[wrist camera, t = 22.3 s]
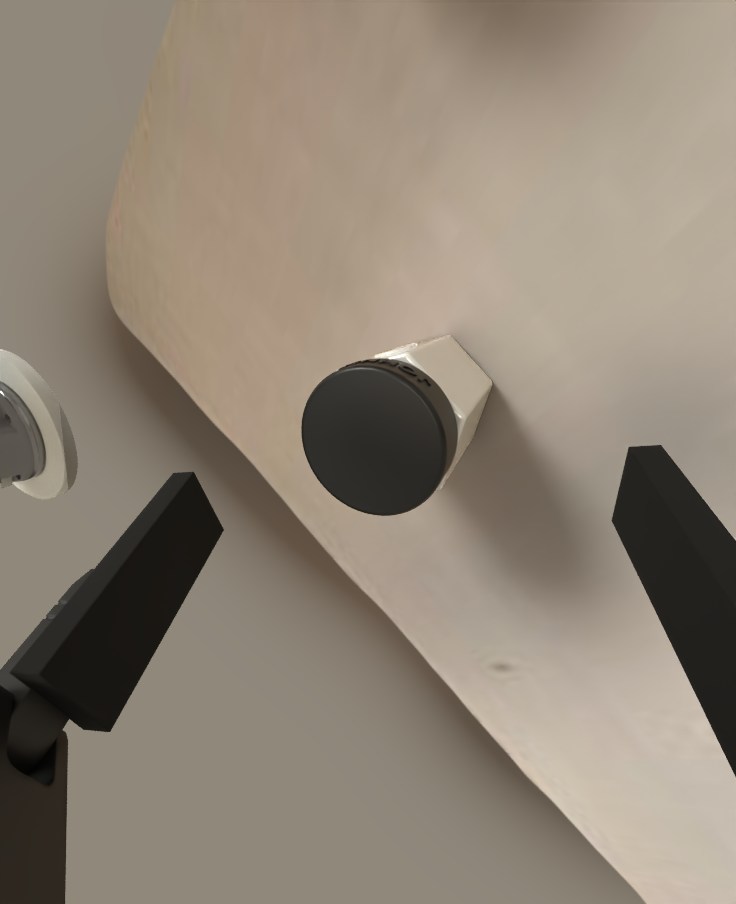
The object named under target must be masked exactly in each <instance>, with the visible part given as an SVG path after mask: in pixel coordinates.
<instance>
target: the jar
mask: <svg viewBox="0 0 736 904" xmlns="http://www.w3.org/2000/svg"><path fill="white" fill-rule="evenodd" d="M491 387H492V381H491V379H490V378H489V377H488V376H487V375H486V374H485V373H484V372H483V371H482V370H481V368H480V367H479V366H478V365H477V364H476V363H475V362H474V361H473V360H472V359H471V357H470V356H469V355H468V354H467V353H466V352H465V351H464V350H463V349H462V347H461V346H460V345H459V344H458V343H457V342H456V341H455V340H454V339H453V337H452V336H450V335H446V336H442V337H438V338H434V339H431V340H427V341H423V342H419V343H411V344H408V345H404V346H401V347H398V348H395V349H391V350H388V351H384V352H381V353H378V354H376V355H375V356H374V357H371V358H368V359H365V360H363V361H358V362H355V363H352V364H349V365H346V366H345V367H342V368H340V369H338V370H336V371H335V372H334V373H332V374H330V375H329V376H327V377H326V378H325V379H324V380H322V381H321V382H320V383H319V384H318V385H317V387H316V388H315V389H314V390H313V392H312V394H311V395H310V397H309V399H308V401H307V403H306V406H305V409H304V413H303V418H302V442H303V447H304V451H305V455H306V457H307V460H308V463H309V465H310V467H311V469H312V471H313V472H314V474H315V476H316V477H317V479H318V480H319V481H320V483H321V484H322V485H323V486H324V487H325V488H326V489H327V491H329V492H330V493H331V494H332V495H333V496H334V497H335V498H337V499H338V500H339V501H341V502H342V503H344V504H346V505H347V506H349V507H351V508H353V509H355V510H358V511H361V512H364V513H368V514H373V515H381V516H389V515H397V514H402V513H405V512H408V511H410V510H412V509H414V508H416V507H418V506H419V505H421V504H422V503H424V502H425V501H426V500H427V499H428V498H429V497H430V496H431V495H432V494H433V493H434V491H435V490H440V489H441V488H442V487H443V485H444V484H445V482H446V481H447V479H448V477H449V476H450V474H451V472H452V471H453V469H454V468H455V466H456V464H457V463H458V461H459V459H460V458H461V456H462V455H463V453H464V451H465V450H466V448H467V446H468V445H469V443H470V442H471V440H472V438H473V436H474V433H475V431H476V428H477V425H478V422H479V420H480V417H481V414H482V411H483V409H484V406H485V403H486V401H487V398H488V395H489V392H490V390H491Z"/></svg>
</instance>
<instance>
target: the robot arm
mask: <svg viewBox="0 0 736 904" xmlns="http://www.w3.org/2000/svg"><path fill="white" fill-rule="evenodd" d="M45 464H46V450H45V444H44V440H43V437H42V434H41V431H40V428H39V426H38V424H37V422H36V420H35V418H34V416H33V414H32V413H31V411H30V409H29V408H28V406H27V405H26V404H25V402H24V401H23V400H22V399H21V397H20V396H19V395H18V394H17V393H16V392H15V391H14V390H13V389H12V388H10V387H9V386H8V385H7V384H5V383H3V382H1V381H0V483H1V484H2V488H4V487H7V486H10V485H12V482H18V481H25V480H28V479H30V478H33V477H36V476H38V475H40V474H41V473H42V472H43V470H44V468H45ZM612 522H613V524H614V526H615V528H616V531H617V533H618V535H619V537H620V539H621V541H622V543H623V545H624V547H625V549H626V551H627V553H628V555H629V557H630V559H631V562H632V564H633V566H634V568H635V570H636V572H637V574H638V576H639V578H640V580H641V582H642V584H643V586H644V588H645V590H646V593H647V595H648V597H649V599H650V601H651V603H652V605H653V607H654V609H655V611H656V613H657V615H658V617H659V619H660V621H661V624H662V626H663V628H664V630H665V632H666V634H667V636H668V638H669V640H670V642H671V644H672V646H673V648H674V650H675V652H676V655H677V657H678V659H679V661H680V663H681V665H682V667H683V669H684V671H685V673H686V675H687V677H688V679H689V681H690V683H691V686H692V688H693V690H694V692H695V694H696V696H697V698H698V700H699V702H700V704H701V706H702V708H703V710H704V712H705V714H706V717H707V719H708V721H709V723H710V725H711V727H712V729H713V731H714V733H715V735H716V737H717V739H718V741H719V743H720V745H721V748H722V750H723V752H724V754H725V756H726V758H727V760H728V762H729V764H730V766H731V768H732V770H733V772H734V774H735V776H736V541H735V539H734V538H733V537H732V536H731V534H730V533H729V532H728V530H727V529H726V528H725V527H724V525H723V524H722V523H721V521H720V520H719V519H718V518H717V516H716V515H715V514H714V513H713V511H712V510H711V509H710V507H709V506H708V505H707V504H706V502H705V501H704V500H703V498H702V497H701V496H700V495H699V493H698V492H697V491H696V489H695V488H694V487H693V486H692V484H691V483H690V482H689V480H688V479H687V478H686V477H685V475H684V474H683V473H682V471H681V470H680V469H679V468H678V466H677V465H676V464H675V463H674V461H673V460H672V459H671V457H670V456H669V455H668V454H667V452H666V451H665V450H664V448H663V447H662V446H661V445H655V446H638V447H629V449H628V453H627V457H626V461H625V466H624V470H623V474H622V479H621V483H620V487H619V492H618V496H617V500H616V504H615V509H614V513H613V517H612ZM223 531H224V529H223V527H222V525H221V524H220V521H219V520H218V518H217V516H216V514H215V512H214V510H213V508H212V506H211V504H210V503H209V500H208V498H207V497H206V495H205V493H204V491H203V489H202V487H201V485H200V483H199V481H198V479H197V477H196V475H195V473H194V472H183V473H173V474H172V476H171V477H170V478H169V479H168V480H167V482H166V483H165V484H164V485H163V487H162V488H161V489H160V490H159V491H158V492H157V494H156V495H155V496H154V497H153V499H152V500H151V501H150V502H149V504H148V505H147V506H146V507H145V508H144V509H143V511H142V512H141V513H140V514H139V516H138V517H137V518H136V519H135V521H134V522H133V523H132V524H131V525H130V526H129V528H128V529H127V530H126V531H125V533H124V534H123V535H122V536H121V537H120V539H119V540H118V541H117V542H116V544H115V545H114V546H113V547H112V548H111V550H110V551H109V552H108V553H107V554H106V556H105V557H104V558H103V559H102V561H101V562H100V563H99V564H98V566H96V568H95V569H91V570H90V571H89V572H87V573H86V574H85V575H84V576H83V577H81V578H80V579H79V580H78V581H76V582H75V583H74V584H73V585H72V586H71V587H70V588H69V589H68V591H67V592H66V593H65V594H64V595H63V596H62V598H61V599H60V600H59V601H58V602H59V603H58V605H55V606H54V607H53V608H52V609H51V611H50V612H49V613H48V614H47V615H46V616H47V618H46V619H43V620H42V621H41V622H40V624H39V625H38V626H37V627H36V628H35V630H34V631H33V632H32V633H31V634H30V635H29V637H28V638H27V639H26V640H25V641H24V643H23V644H22V645H21V646H20V647H19V649H18V650H17V651H16V652H15V653H14V654H13V656H12V657H11V658H10V659H9V660H8V662H7V663H6V664H5V665H4V666H3V668H2V669H1V670H0V904H65V874H66V817H67V762H68V760H67V759H68V739H67V735H66V732H64V731H63V730H62V729H63V728H64V726H65V725H66V723H67V721H68V720H69V719H70V720H72V721H73V722H74V723H75V724H77V725H78V726H79V727H81V728H82V729H83V730H94V731H104V732H110V731H111V729H112V727H113V726H114V724H115V722H116V720H117V719H118V717H119V715H120V713H121V711H122V710H123V708H124V706H125V704H126V703H127V701H128V699H129V697H130V695H131V694H132V692H133V690H134V688H135V686H136V685H137V683H138V681H139V680H140V677H141V676H142V674H143V672H144V670H145V669H146V667H147V665H148V664H149V662H150V660H151V658H152V656H153V655H154V653H155V651H156V649H157V647H158V646H159V644H160V642H161V641H162V639H163V637H164V635H165V633H166V631H167V630H168V628H169V626H170V625H171V623H172V621H173V619H174V617H175V616H176V614H177V612H178V610H179V609H180V607H181V605H182V603H183V602H184V600H185V598H186V596H187V594H188V592H189V591H190V589H191V587H192V585H193V584H194V582H195V580H196V578H197V577H198V575H199V573H200V571H201V569H202V568H203V566H204V564H205V563H206V561H207V559H208V557H209V555H210V554H211V552H212V550H213V548H214V547H215V545H216V543H217V541H218V539H219V538H220V536H221V534H222V532H223Z"/></svg>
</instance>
